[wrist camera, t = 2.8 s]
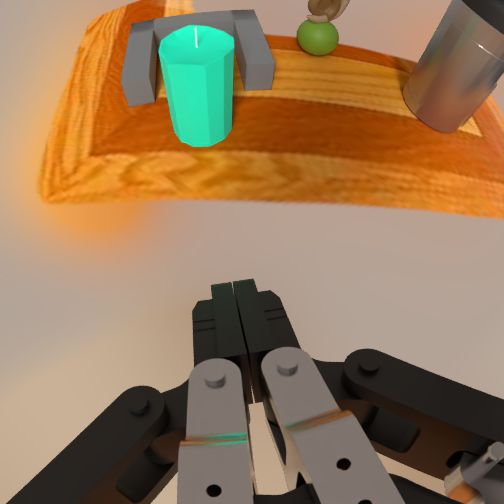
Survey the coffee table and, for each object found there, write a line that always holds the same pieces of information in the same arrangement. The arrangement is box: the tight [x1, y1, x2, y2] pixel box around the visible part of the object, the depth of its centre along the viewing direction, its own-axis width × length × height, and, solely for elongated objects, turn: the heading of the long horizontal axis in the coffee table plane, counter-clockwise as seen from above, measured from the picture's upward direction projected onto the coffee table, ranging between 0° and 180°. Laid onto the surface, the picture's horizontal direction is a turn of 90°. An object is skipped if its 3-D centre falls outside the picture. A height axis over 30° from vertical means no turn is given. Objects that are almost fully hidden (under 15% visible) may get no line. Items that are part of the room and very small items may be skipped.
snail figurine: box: [297, 0, 350, 56], centre depth 30 cm, size 5×6×12 cm
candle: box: [159, 25, 234, 147], centre depth 24 cm, size 6×6×12 cm
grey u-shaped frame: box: [121, 10, 275, 107], centre depth 31 cm, size 16×13×4 cm
